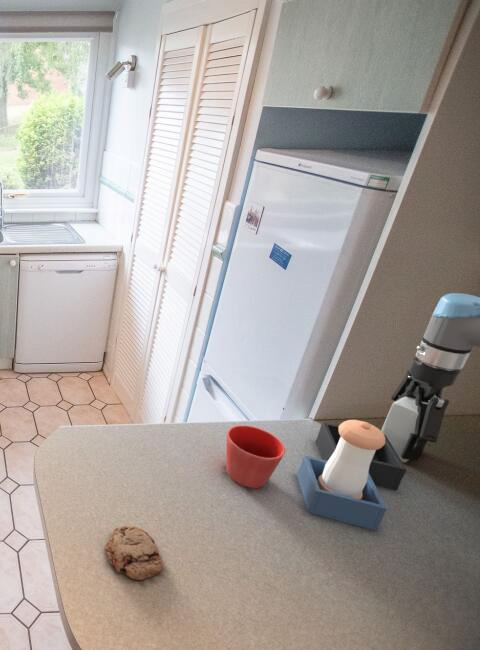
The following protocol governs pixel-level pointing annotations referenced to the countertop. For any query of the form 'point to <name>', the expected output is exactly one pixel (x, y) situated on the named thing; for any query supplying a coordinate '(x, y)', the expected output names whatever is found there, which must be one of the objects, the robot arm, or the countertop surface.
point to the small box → (401, 423)
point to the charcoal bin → (384, 463)
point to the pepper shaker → (351, 459)
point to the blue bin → (339, 498)
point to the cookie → (134, 553)
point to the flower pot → (252, 455)
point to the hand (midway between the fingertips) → (399, 444)
